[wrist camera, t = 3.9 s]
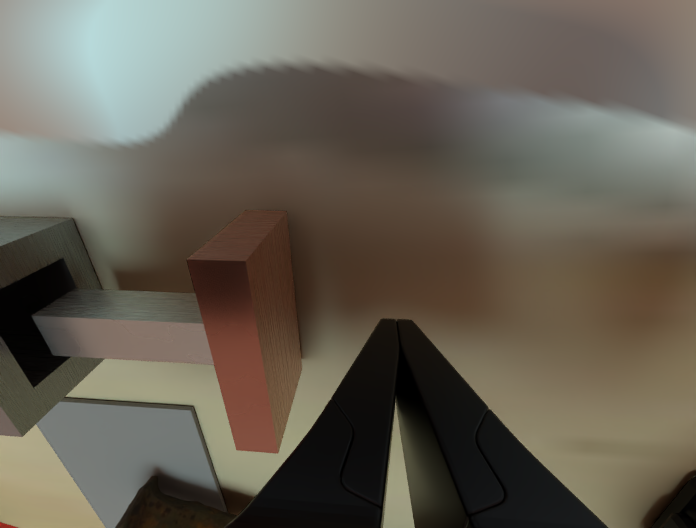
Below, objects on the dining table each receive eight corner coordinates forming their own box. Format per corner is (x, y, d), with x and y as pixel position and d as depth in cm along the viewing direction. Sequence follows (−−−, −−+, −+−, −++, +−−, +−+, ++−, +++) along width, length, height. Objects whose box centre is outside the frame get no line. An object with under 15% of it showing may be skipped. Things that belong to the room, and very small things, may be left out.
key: (286, 211, 9) (245, 260, 6) (302, 368, 12) (277, 453, 9) (69, 207, 10) (-60, 251, 7) (132, 358, 12) (58, 436, 9)
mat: (192, 406, 14) (190, 410, 14) (247, 574, 21) (246, 578, 21) (23, 395, 15) (18, 398, 14) (133, 561, 22) (131, 565, 22)
